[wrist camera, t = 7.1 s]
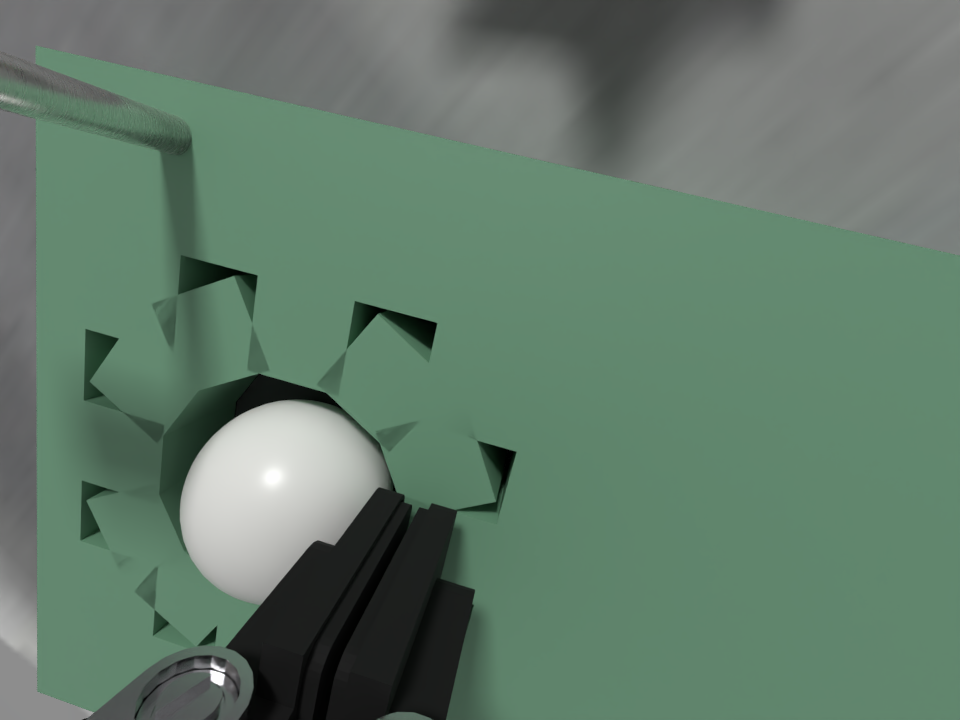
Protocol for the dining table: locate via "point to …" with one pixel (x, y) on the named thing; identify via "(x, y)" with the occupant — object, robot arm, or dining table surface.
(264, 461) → the ball
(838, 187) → the dining table surface
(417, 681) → the robot arm
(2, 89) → the flag pin
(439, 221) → the green flat slab
